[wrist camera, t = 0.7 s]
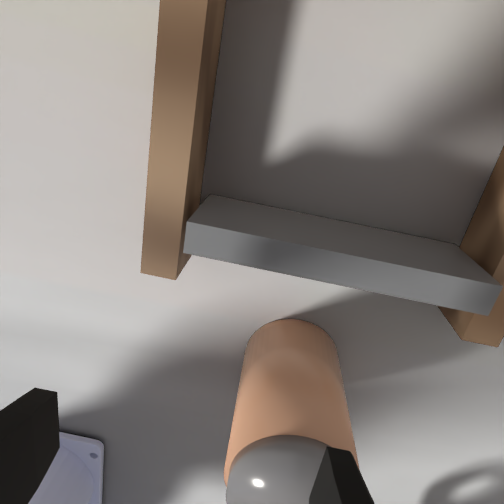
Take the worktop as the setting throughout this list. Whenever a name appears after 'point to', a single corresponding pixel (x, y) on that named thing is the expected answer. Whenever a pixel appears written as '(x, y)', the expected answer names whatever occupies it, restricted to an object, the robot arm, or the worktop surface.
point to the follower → (340, 254)
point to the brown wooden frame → (194, 153)
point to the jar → (285, 414)
